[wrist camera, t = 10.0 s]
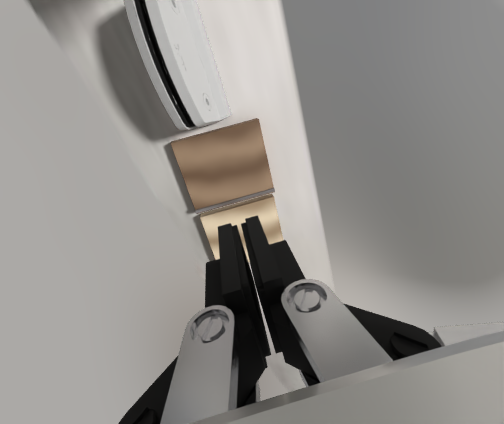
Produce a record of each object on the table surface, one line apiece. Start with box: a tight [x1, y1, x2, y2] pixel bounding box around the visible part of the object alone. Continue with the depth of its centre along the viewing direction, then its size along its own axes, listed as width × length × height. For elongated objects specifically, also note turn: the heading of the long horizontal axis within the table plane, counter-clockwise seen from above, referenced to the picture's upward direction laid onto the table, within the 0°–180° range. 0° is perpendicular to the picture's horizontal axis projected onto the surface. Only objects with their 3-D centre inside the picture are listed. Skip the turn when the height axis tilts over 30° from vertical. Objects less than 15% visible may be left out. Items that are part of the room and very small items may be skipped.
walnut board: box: [171, 118, 275, 214], centre depth 41 cm, size 12×13×2 cm
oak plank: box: [200, 194, 283, 262], centre depth 46 cm, size 11×12×2 cm
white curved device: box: [124, 0, 232, 130], centre depth 32 cm, size 17×5×10 cm, turn 16°
